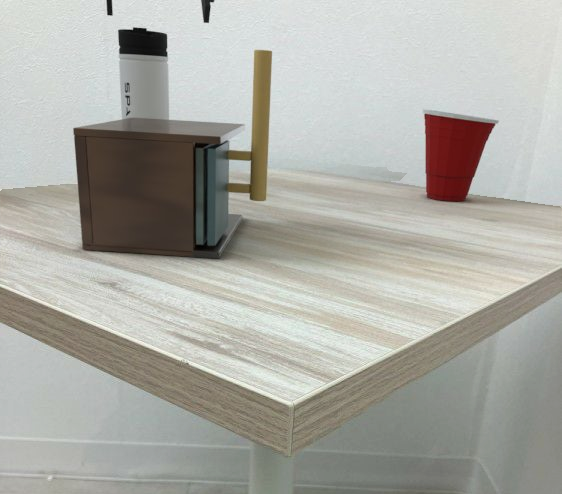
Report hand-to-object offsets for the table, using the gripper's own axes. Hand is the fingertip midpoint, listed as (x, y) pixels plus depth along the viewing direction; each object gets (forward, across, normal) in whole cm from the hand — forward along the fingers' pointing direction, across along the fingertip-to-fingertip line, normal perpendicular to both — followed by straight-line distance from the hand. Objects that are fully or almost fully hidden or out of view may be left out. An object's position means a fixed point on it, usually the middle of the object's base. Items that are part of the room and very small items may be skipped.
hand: (159, 11), depth 91 cm
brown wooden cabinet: (+44, +2, +12) cm, 45 cm away
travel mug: (+24, +3, -9) cm, 25 cm away
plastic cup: (+27, -41, -5) cm, 49 cm away
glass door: (+48, -4, +17) cm, 51 cm away
